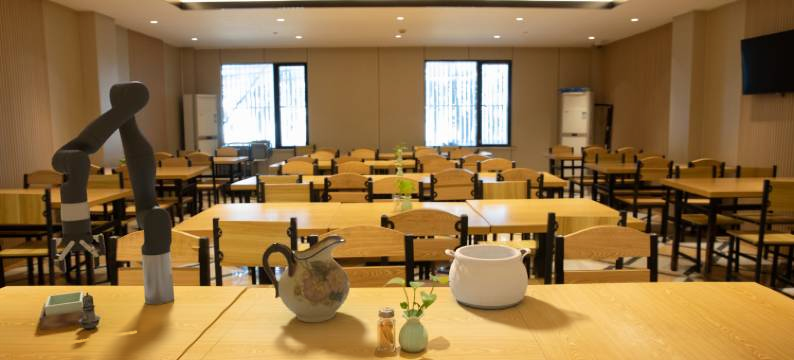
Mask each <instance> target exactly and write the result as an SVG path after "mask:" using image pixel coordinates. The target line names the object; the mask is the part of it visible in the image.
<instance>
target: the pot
mask: <svg viewBox="0 0 794 360" xmlns="http://www.w3.org/2000/svg"><path fill="white" fill-rule="evenodd" d="M523 250H524V251H526V252H525V253H523V254H522V252H521V251H523ZM531 252H532V250H531V249H530V248H529V247H522V248H515V247H512V246H508V245H501V244H490V243H489V244H488V243H487V244H486V243H485V244H484V243H482V244H481V243H480V244H470V245H465V246H464V245H463V246H461V247H459V248H457V249H456V250H455V251H454V250H451V249H448V248H447V249H445V253H444V254H446V255H447V256H451V257H454V259H453V261H452V263H451V264H450V269H449V275H448V281H450V282H448V284H449V288H450V292H451V294H452V296H453V297H454V298H455V300H457V302H459V303H460V304H462V305H464V306H468V307H470V308H471V307H472V308H475V309H476V308H477V309H485V310H496V309H497V310H500V309H506V308H510V307H513V306H515V305H518V304H519V303H520V302H521V301H522V300H523V299H524V297H525V295H526V293H527V289H528V283H529V282H528V281H529V279H528V272H527V267H526V266H525V264H524V263H523V260H524V257H525V256H527V255H528V254H530V253H531Z"/></svg>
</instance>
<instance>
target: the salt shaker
mask: <svg viewBox="0 0 794 360" xmlns="http://www.w3.org/2000/svg"><path fill="white" fill-rule="evenodd" d="M95 308H96V305H94V296H93V295H91V294H89V292H88V291H87V292H86V294H85V295H84V297H83V307H82V309H83V318H82V319H80V320H79V323H80V324H79V325H80V327H81V328H82V329H85V330H86V331H87V330H88V331H89V330H93V329H95V328H96V327H97V326H98V325H99V324H100V321H101V320H100V319H101V317H100V316H98V315H96V314H95Z"/></svg>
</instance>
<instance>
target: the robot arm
mask: <svg viewBox="0 0 794 360" xmlns="http://www.w3.org/2000/svg"><path fill="white" fill-rule="evenodd" d="M108 94H109V101H110V105H111V108H110V109H109V110H106V111H105V112H104V113H102V114H101V115H99V116H98V117H96V118H94V119H93V120H91V121H90V122H89V123H88V124H87V125H85V127H84V128H83V129H82V130H81V131H80V133H79V134H78V135H76V136H75V138H72V139H71V140H70V141H68V142H66V144H64V145H62V146H61V147H60V148H58V149H57V150H56V151H55V153H54V154H53V156H52V158H51V167H52V169H53V170H54V172H56V173H59V174H61V175H62V174H64V175H69V176H68V180H67V182H63V183H62V184H61V185H60V186H59V195H60V197H59V198H60V220H61V228H62V238H61V237H60V238H57V237H53V238H51V240H50V257H51V258H50V259H52V260H57V261H58V264H59V271H60V272H62V273H63V274H64V273H67V266H66V265H67V263H66V259H65V258H66V256H67V255H68V253H69V252H71V253H72V252H73V253H75V252H79V251H80V252H82V251H88V252H89V253H90V254H92V256H93V265H94V268H93V269H94V270H98V268H100V265H101V261H100V256H102V255H105V254H106V245H105V238H104V233H99V234H95V235H93V233H92V226H91V225H92V224H91V214H90V211H91V210H90V205H89V199H88V189H87V188H88V184H89V178H90V172H91V168H92V167H91V166H92V165H91V159H90V155H94V154H96V153H97V152H98V151H100V149H101V148H102V147H103V145H104V144H105V143H106V142H107V141H108V139H110V138H111V136H113V134H115V132H116V131H118V132H119V136H120V140H121V144H122V150H123V154H124V160H125V166H126V168H127V173H128V177H129V181H130V186H131V189H132V193H133V199H134V210H135V221H136V224H137V226H138V227H139V229H141V230H142V231H143V244H142V245H141V248H140V250H141V251H140V252H141V262H142V276H143V277H142V278H143V291H144V302H145V304H146V305H150V306H151V305H153V306H154V305H164V304H167V303H170V302H174V301H175V290H174V278H173V277H174V275H173V270H172V256H171V252H172V251H171V245H172V240H173V236H172V235H173V234H172V232H173V231H172V230H173V229H172V219H171V216H170V213H169V211H168V210H166V209H165V208H163V207H160V204H159V200H158V197H157V193H156V179H157V171H158V170H157V169H158V168H157V167H158V166H157V160H156V156H155V151H154V147H153V145H152V143H151V142H150V140H149V139H148V137H147V136H146V135H145V134H144V132H143V131H142V130H141V128H140V126H139V124H138V122H137V119H136V114H137V113H139V112H140V111H142V110H143V108H145V107H146V106H147V104H148V103H149V100H150V91H149V88H148V86H146V85H145V84H144V83H143V82H140V81H124V82H117V83H114V84H112V85H111V87H110V89H109V93H108ZM94 240H95V242H97V243H98V245H99V250H98V249H96V248H95V246H94V245H93V244H92V242H93V241H94ZM60 243H62V245H64V246H65V248H64V249H63V251H62V252H61V254H59V253H58V246H60Z"/></svg>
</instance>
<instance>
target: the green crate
mask: <svg viewBox="0 0 794 360" xmlns="http://www.w3.org/2000/svg"><path fill="white" fill-rule="evenodd" d="M84 294H85V293H84V291H83V290H82V291H80V290H79V291H74V292H67V293H66V292H65V293H58V294H52V295H48V296H47V298H46V299H47V300H46V302H45V303H46V305H45V314H46V316H52V315H59V314H66V313H72V312H79V311H83V309H82V307H83V297H84V296H85V295H84Z"/></svg>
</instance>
